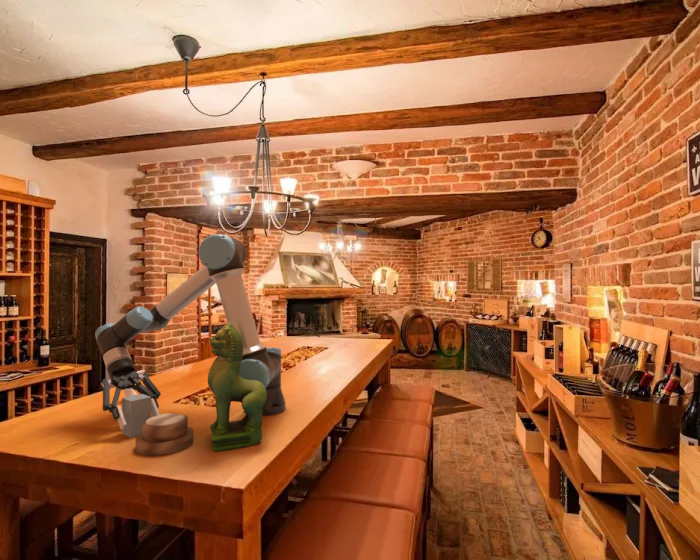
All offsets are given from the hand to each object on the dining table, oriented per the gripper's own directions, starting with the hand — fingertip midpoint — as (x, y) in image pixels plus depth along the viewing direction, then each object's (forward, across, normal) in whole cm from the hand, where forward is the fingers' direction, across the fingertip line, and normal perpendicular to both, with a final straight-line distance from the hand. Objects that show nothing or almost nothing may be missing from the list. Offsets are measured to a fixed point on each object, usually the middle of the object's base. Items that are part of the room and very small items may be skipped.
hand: (141, 422), depth 121 cm
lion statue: (+22, -15, +16) cm, 31 cm away
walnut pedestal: (+12, -1, +7) cm, 14 cm away
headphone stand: (-25, -15, -31) cm, 43 cm away
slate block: (+1, 0, -5) cm, 5 cm away
